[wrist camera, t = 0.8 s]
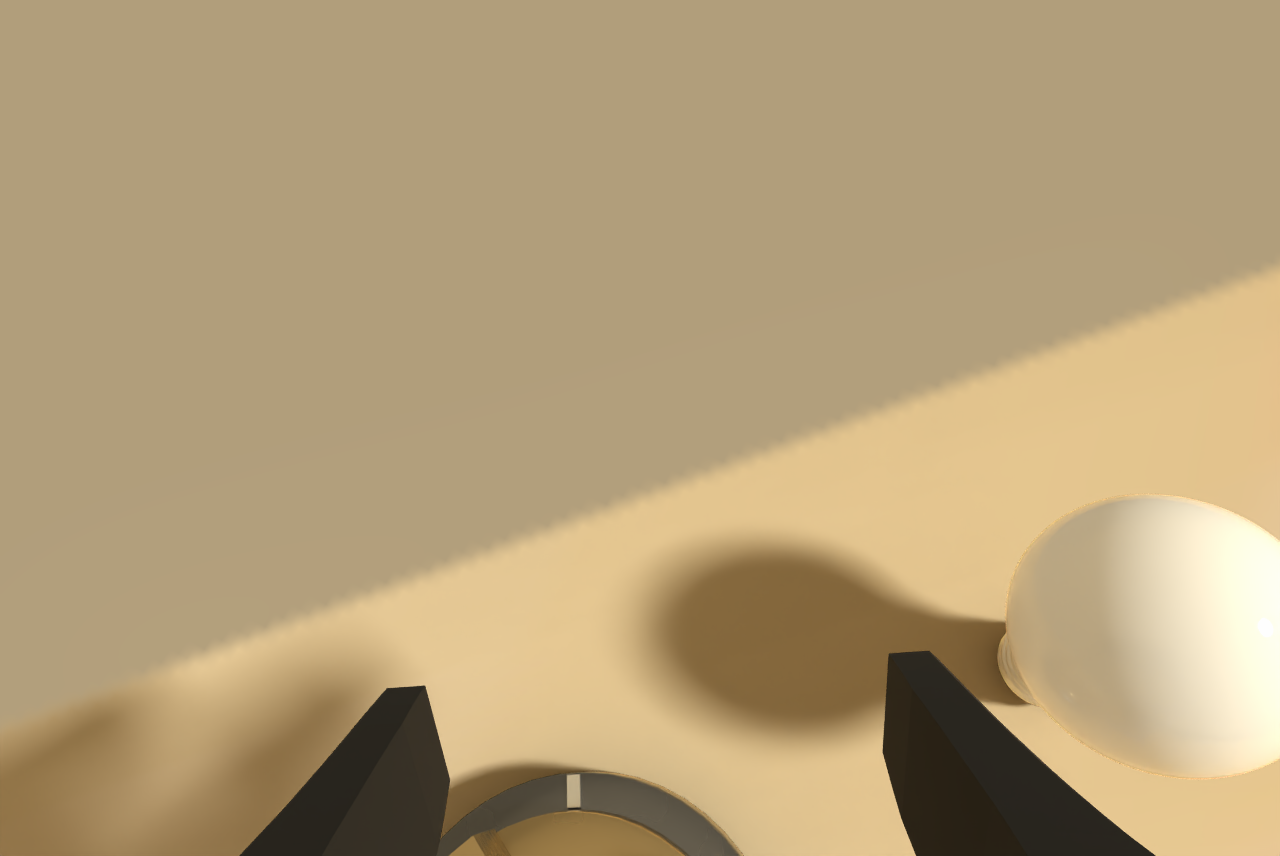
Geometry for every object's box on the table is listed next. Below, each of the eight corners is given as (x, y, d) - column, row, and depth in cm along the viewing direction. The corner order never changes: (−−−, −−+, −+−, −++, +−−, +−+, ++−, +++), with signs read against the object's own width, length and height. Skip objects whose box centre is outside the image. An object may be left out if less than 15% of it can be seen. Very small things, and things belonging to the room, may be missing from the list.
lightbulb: (906, 712, 25) (1026, 683, 15) (966, 540, 27) (1108, 411, 17) (1111, 810, 23) (1405, 854, 13) (1159, 619, 25) (1447, 528, 15)
